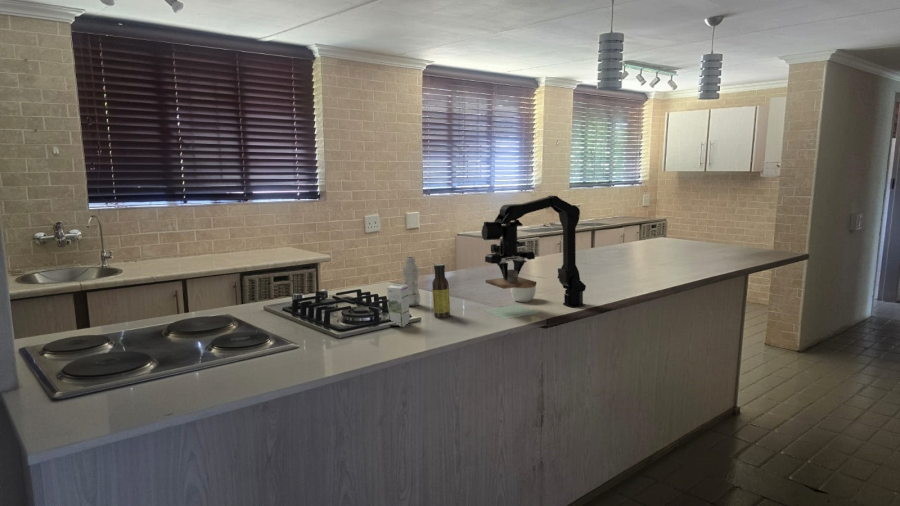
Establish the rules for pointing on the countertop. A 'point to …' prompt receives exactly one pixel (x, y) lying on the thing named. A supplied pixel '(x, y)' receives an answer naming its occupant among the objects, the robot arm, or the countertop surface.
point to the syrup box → (398, 304)
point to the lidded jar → (523, 293)
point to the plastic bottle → (412, 280)
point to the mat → (511, 311)
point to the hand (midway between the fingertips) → (510, 279)
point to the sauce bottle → (440, 293)
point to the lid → (511, 281)
